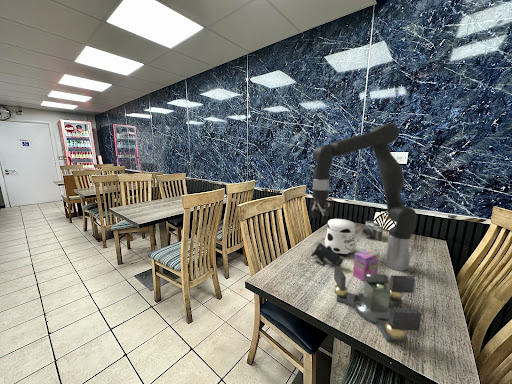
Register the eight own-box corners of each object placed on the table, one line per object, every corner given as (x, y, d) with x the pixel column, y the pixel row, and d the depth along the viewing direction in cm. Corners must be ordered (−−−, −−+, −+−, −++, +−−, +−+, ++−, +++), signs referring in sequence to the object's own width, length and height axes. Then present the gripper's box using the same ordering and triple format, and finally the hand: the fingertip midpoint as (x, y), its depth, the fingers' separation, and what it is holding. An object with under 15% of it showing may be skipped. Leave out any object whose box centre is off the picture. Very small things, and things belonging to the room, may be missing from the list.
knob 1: (391, 299, 78) (393, 280, 76) (384, 291, 82) (386, 273, 81) (415, 300, 77) (418, 281, 75) (406, 292, 82) (409, 274, 80)
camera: (356, 232, 153) (357, 219, 151) (369, 231, 154) (370, 219, 152) (369, 240, 137) (371, 227, 136) (383, 240, 138) (385, 226, 137)
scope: (331, 274, 102) (341, 259, 99) (309, 255, 110) (318, 241, 107) (337, 270, 108) (346, 256, 105) (316, 252, 116) (324, 239, 113)
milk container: (356, 259, 113) (359, 229, 109) (324, 254, 118) (326, 225, 115) (352, 246, 129) (354, 219, 126) (324, 242, 134) (326, 217, 131)
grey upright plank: (349, 297, 79) (350, 278, 77) (336, 296, 79) (338, 278, 78) (341, 283, 87) (342, 266, 86) (330, 282, 88) (331, 265, 86)
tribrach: (394, 296, 83) (398, 265, 80) (437, 344, 61) (445, 304, 59) (332, 293, 84) (335, 262, 82) (354, 339, 63) (357, 300, 61)
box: (363, 281, 92) (365, 258, 90) (352, 275, 97) (354, 253, 95) (377, 275, 97) (379, 253, 95) (366, 269, 102) (368, 248, 100)
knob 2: (390, 339, 61) (394, 315, 59) (382, 326, 65) (384, 304, 64) (421, 341, 60) (425, 317, 59) (410, 327, 65) (414, 305, 63)
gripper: (337, 190, 90) (334, 224, 93) (318, 186, 104) (317, 215, 107) (323, 191, 88) (321, 225, 91) (306, 186, 102) (305, 217, 104)
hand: (319, 220), depth 99 cm, fingers open, 8 cm apart
